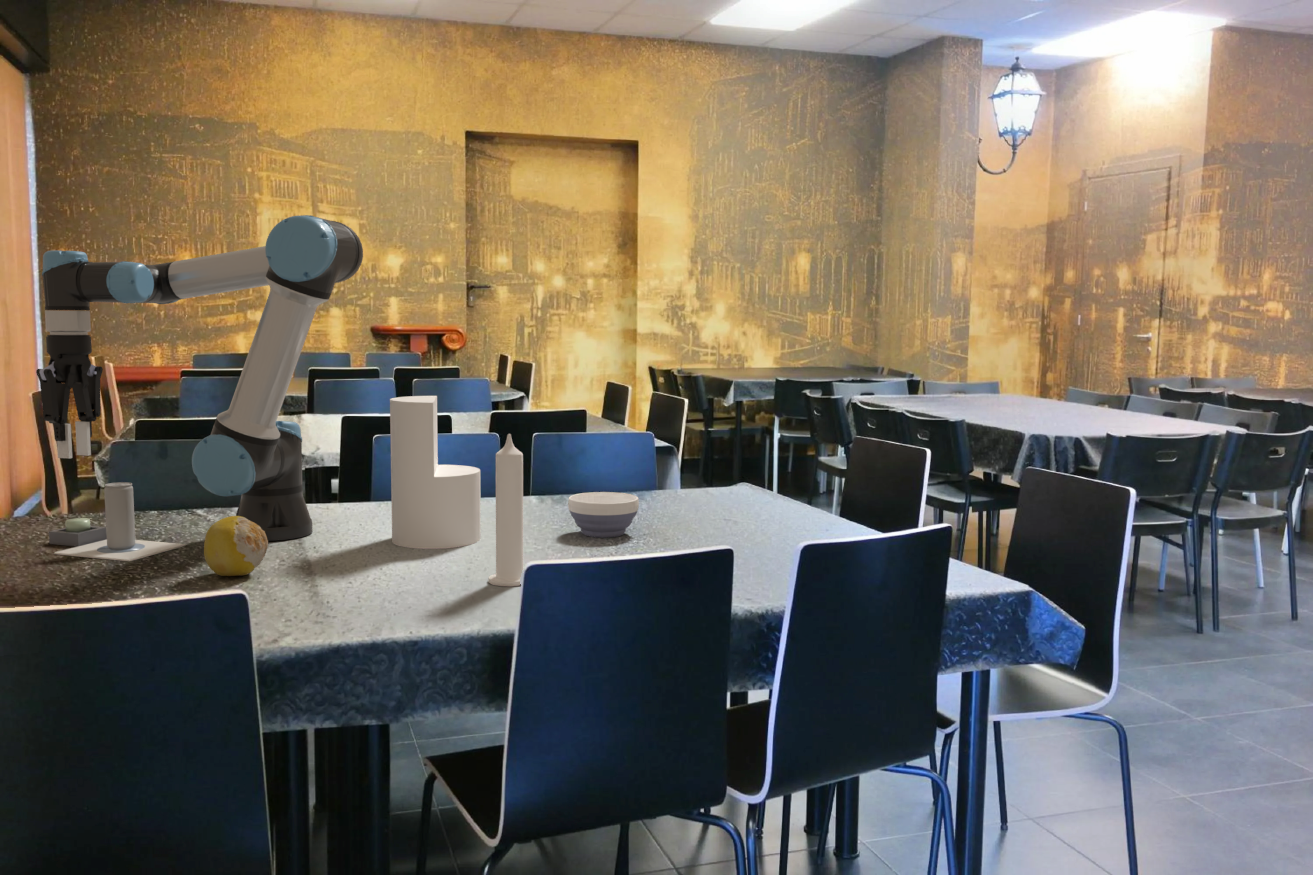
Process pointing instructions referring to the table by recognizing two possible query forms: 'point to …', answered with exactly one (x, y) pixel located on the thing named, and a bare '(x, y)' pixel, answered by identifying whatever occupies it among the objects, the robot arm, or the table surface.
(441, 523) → the white notched round column
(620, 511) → the bowl
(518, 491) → the candle
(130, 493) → the beverage can
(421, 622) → the table surface
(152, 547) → the paper sheet
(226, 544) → the fruit
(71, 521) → the button
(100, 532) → the button housing
